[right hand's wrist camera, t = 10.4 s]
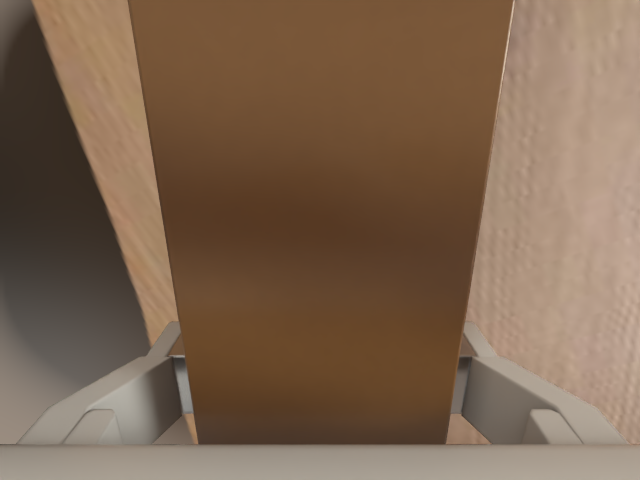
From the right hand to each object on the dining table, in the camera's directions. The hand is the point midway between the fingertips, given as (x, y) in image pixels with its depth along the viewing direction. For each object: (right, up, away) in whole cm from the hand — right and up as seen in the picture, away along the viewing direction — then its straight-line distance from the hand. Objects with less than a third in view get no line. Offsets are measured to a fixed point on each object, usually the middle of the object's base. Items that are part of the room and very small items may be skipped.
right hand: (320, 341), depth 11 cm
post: (0, +22, -5) cm, 22 cm away
